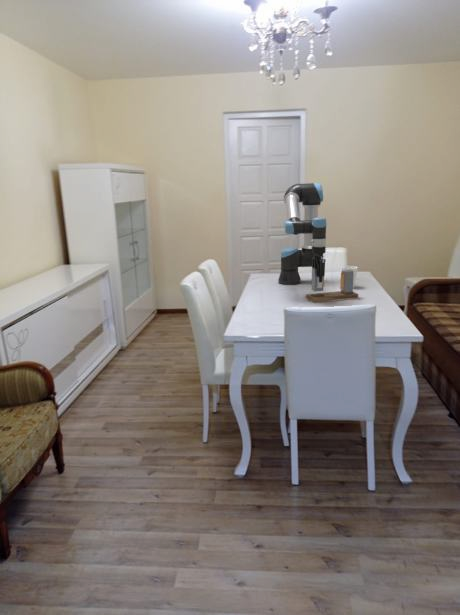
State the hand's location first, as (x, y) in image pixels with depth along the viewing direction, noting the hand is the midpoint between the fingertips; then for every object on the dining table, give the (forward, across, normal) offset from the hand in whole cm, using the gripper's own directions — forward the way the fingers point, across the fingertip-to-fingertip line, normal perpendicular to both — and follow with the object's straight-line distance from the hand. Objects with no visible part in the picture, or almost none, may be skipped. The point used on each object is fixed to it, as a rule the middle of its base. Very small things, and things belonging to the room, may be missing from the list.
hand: (317, 286), depth 248 cm
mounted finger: (+5, 0, +18) cm, 19 cm away
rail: (+8, 0, +9) cm, 12 cm away
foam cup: (+8, -21, +31) cm, 38 cm away
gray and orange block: (+2, 0, 0) cm, 2 cm away
